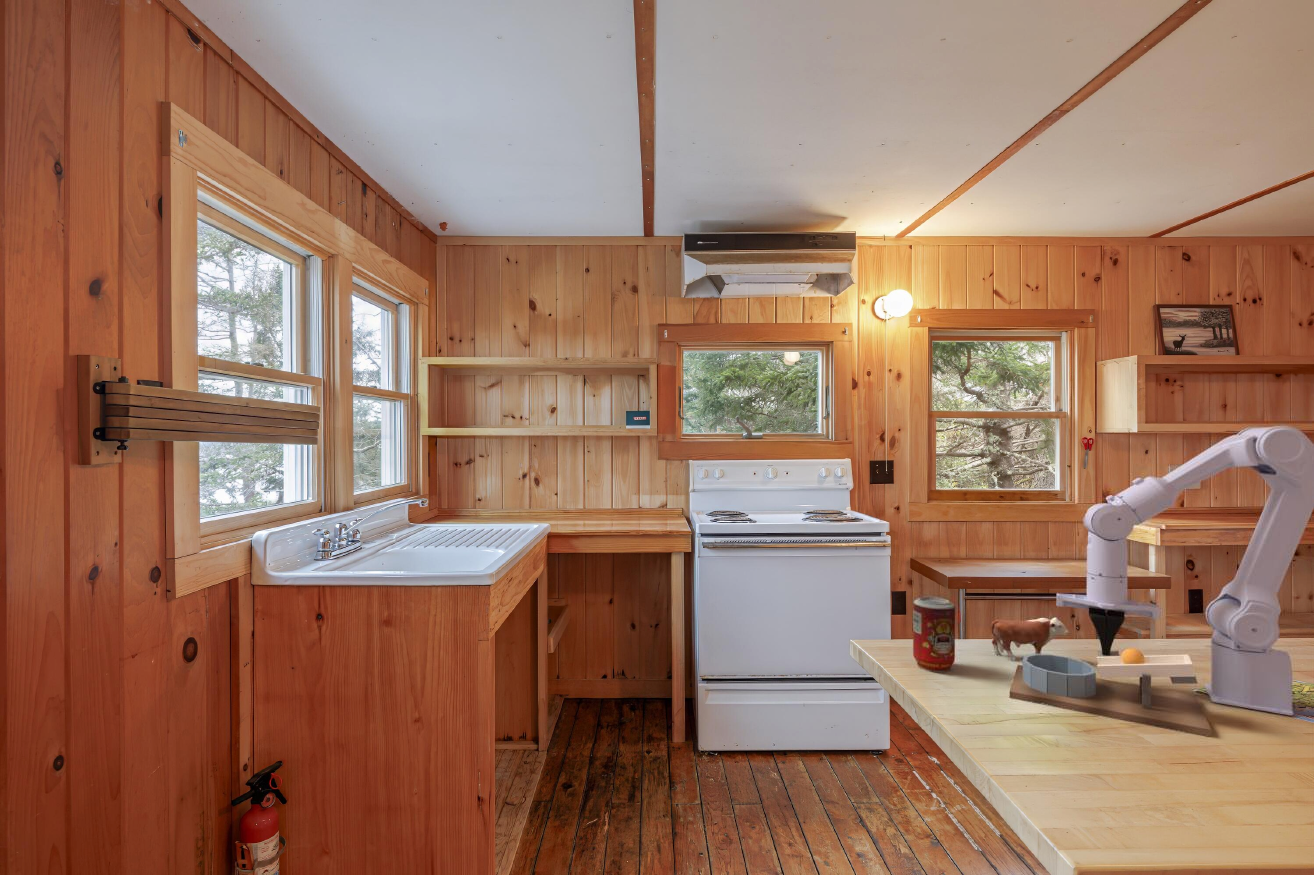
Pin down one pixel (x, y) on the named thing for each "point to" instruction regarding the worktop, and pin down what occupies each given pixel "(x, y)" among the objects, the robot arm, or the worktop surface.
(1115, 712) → the base board
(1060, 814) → the worktop surface
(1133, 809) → the worktop surface
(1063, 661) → the bowl
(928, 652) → the soda can
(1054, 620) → the bull figurine
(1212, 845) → the worktop surface
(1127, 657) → the ball
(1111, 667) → the tilted wooden ramp
